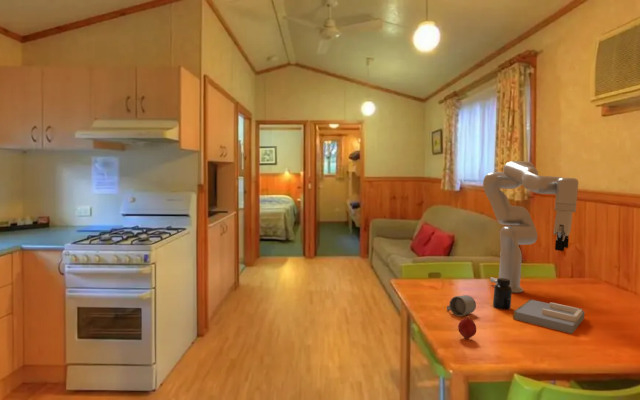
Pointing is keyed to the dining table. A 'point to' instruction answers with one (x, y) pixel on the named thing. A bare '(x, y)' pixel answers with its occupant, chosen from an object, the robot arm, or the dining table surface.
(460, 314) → the ceramic mug
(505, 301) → the supplement bottle
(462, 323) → the onion
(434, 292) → the dining table surface
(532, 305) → the dock
